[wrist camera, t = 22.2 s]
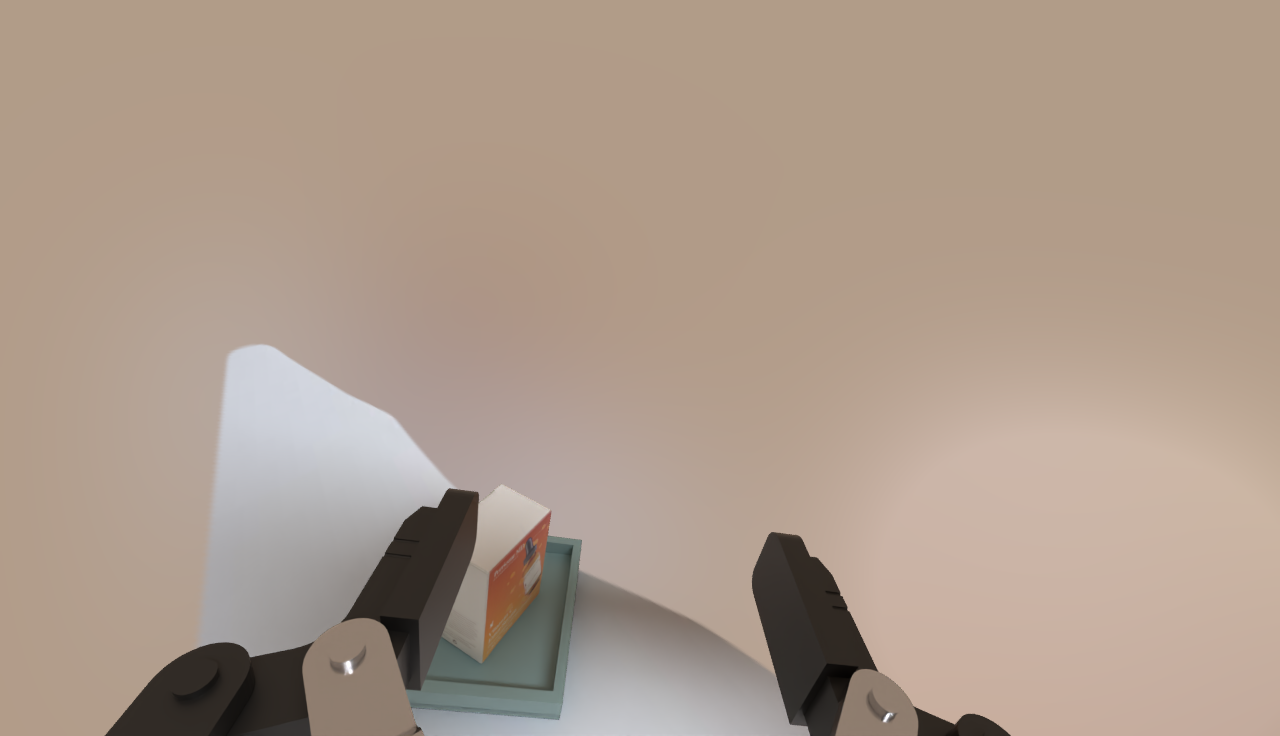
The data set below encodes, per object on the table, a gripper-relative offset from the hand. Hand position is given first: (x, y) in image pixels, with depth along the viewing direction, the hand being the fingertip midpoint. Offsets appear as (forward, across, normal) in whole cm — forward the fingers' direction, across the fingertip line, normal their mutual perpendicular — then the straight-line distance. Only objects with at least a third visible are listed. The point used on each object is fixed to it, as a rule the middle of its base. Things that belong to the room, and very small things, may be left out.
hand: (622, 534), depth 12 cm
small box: (+18, +7, +30) cm, 35 cm away
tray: (+18, +7, +30) cm, 36 cm away
